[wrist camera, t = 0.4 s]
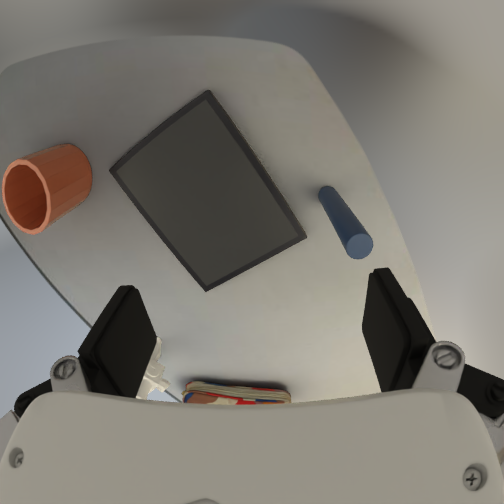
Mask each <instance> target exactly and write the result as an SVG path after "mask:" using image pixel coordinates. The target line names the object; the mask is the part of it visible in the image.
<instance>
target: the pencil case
mask: <svg viewBox="0 0 504 504" xmlns="http://www.w3.org/2000/svg"><path fill="white" fill-rule="evenodd" d="M182 395H183V403H193V404H218V405H257V404H283V403H291V395H290V393H289V392H287V391H284V390H278V389H267V388H251V387H239V386H228V385H221V384H214V383H208V382H200V381H195V382H190V383H188V384H186V390H185V391H183V392H182Z"/></svg>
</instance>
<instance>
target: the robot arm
mask: <svg viewBox="0 0 504 504" xmlns="http://www.w3.org/2000/svg"><path fill="white" fill-rule="evenodd" d="M362 332H363V335H364V338H365V341H366V344H367V347H368V350H369V353H370V356H371V359H372V362H373V366H374V369H375V372H376V375H377V378H378V382H379V385H380V388H381V392H382V393H376V394H369V395H362V396H355V397H347V398H339V399H331V400H321V401H311V402H299V403H283V404H257V405H218V404H193V403H177V402H164V401H153V400H145V399H137V398H136V396H137V393H138V390H139V388H140V385H141V382H142V380H143V377H144V374H145V372H146V369H147V366H148V364H149V361H150V359H151V356H152V353H153V351H154V348H155V346H156V343H157V336H156V333H155V331H154V329H153V326H152V324H151V321H150V319H149V316H148V314H147V311H146V309H145V306H144V303H143V301H142V298H141V295H140V293H139V290H138V289H135V287H134V286H132V285H126V286H120V287H119V288H118V289H117V291H116V292H115V294H114V295H113V297H112V298H111V299H110V301H109V302H108V304H107V305H106V307H105V308H104V310H103V311H102V313H101V315H100V316H99V318H98V319H97V321H96V322H95V324H94V325H93V327H92V329H91V330H90V332H89V333H88V335H87V337H86V338H85V340H84V341H83V343H82V345H81V346H80V348H79V350H78V353H79V357H78V358H76V357H75V356H65V357H62V358H60V359H59V360H58V361H56V362H55V363H54V365H53V366H52V368H51V371H50V377H51V379H49V380H47V381H45V382H43V383H41V384H39V385H38V386H36V387H33V388H32V389H30V390H28V391H26V392H24V393H22V394H21V395H20V396H19V397H18V399H17V400H16V402H15V405H14V410H15V411H14V412H13V411H12V410H10V411H9V412H8V413H7V414H6V415H5V416H4V417H3V418H1V419H0V504H504V380H503V379H501V378H498V377H496V376H493V375H491V374H489V373H486V372H484V371H481V370H479V369H477V368H475V367H472V366H470V365H467V364H465V355H464V352H463V351H462V349H461V348H460V347H459V346H458V345H456V344H454V343H452V342H448V341H439V342H436V341H435V339H434V337H433V336H432V334H431V332H430V330H429V328H428V327H427V325H426V323H425V321H424V320H423V318H422V316H421V314H420V313H419V311H418V309H417V308H416V306H415V304H414V303H413V301H412V300H411V298H407V296H406V295H405V293H404V291H403V290H402V288H401V286H400V285H399V283H398V282H397V280H396V278H395V277H394V275H393V274H392V272H391V270H390V269H389V268H378V269H374V271H373V273H370V274H369V280H368V288H367V295H366V303H365V309H364V316H363V322H362Z"/></svg>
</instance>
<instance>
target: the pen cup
mask: <svg viewBox="0 0 504 504" xmlns="http://www.w3.org/2000/svg"><path fill="white" fill-rule="evenodd" d="M91 185H92V171H91V167H90V164H89V161H88V159H87V157H86V156H85V154H84V153H83V152H82V151H81V150H80V149H79V148H77V147H76V146H74V145H71V144H62V145H61V144H60V145H57V146H54V147H51V148H48V149H45V150H42V151H39V152H36V153H33V154H30V155H28V156H25V157H22V158H20V159H17V160H16V161H14V162H12V163H11V164H10V165H9V166H8V168H7V170H6V172H5V173H4V177H3V182H2V196H3V202H4V205H5V208H6V211H7V214H8V216H9V217H10V219H11V220H12V222H13V223H14V225H15V226H17V227H18V228H19V229H20V230H22V231H23V232H25V233H29V234H32V235H34V234H37V233H40V232H42V231H43V230H45V229H46V228H47V227H49V226H50V225H52V224H53V223H54V222H56V221H57V220H59V219H60V218H61V217H63V216H64V215H66V214H67V213H68V212H70V211H71V210H73V209H74V208H76V207H77V206H79V205H80V204H81V203H82V202H83V201H84V200H85V199H86V198H87V196H88V194H89V192H90V189H91Z"/></svg>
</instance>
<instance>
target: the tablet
mask: <svg viewBox="0 0 504 504" xmlns="http://www.w3.org/2000/svg"><path fill="white" fill-rule="evenodd" d="M109 171H110V173H111V174H112V175H113V177H114V178H115V179H116V181H117V182H118V184H119V185H120V186H121V188H122V189H123V190H124V192H125V193H126V194H127V196H128V197H129V198H130V200H131V201H132V202H133V203H134V205H135V206H136V207H137V209H138V210H139V211H140V213H141V214H142V215H143V216H144V218H145V219H146V220H147V222H148V223H149V224H150V225H151V227H152V228H153V229H154V230H155V232H156V233H157V234H158V235H159V237H160V238H161V239H162V240H163V242H164V243H165V244H166V245H167V247H168V248H169V249H170V250H171V251H172V253H173V254H174V255H175V256H176V258H177V259H178V260H179V261H180V262H181V264H182V265H183V266H184V267H185V268H186V270H187V271H188V272H189V273H190V274H191V276H192V277H193V278H194V279H195V280H196V281H197V283H198V284H199V285H200V286H201V287H202V288H203V290H204V291H205V292H207V291H209V290H211V289H213V288H214V287H216V286H218V285H220V284H222V283H224V282H226V281H228V280H230V279H231V278H233V277H235V276H237V275H239V274H241V273H243V272H244V271H246V270H248V269H250V268H252V267H254V266H256V265H257V264H259V263H261V262H263V261H265V260H267V259H269V258H270V257H272V256H274V255H276V254H278V253H280V252H282V251H283V250H285V249H287V248H289V247H291V246H293V245H294V244H296V243H298V242H300V241H302V240H304V239H305V238H307V235H306V233H305V231H304V230H303V228H302V226H301V225H300V223H299V222H298V220H297V218H296V217H295V215H294V214H293V212H292V210H291V209H290V207H289V206H288V204H287V202H286V201H285V199H284V198H283V196H282V195H281V193H280V191H279V190H278V188H277V187H276V185H275V184H274V182H273V181H272V179H271V178H270V176H269V174H268V173H267V171H266V170H265V168H264V167H263V165H262V164H261V162H260V161H259V159H258V158H257V156H256V155H255V153H254V152H253V150H252V149H251V147H250V146H249V145H248V143H247V142H246V140H245V139H244V137H243V136H242V134H241V133H240V131H239V130H238V129H237V127H236V126H235V124H234V123H233V121H232V120H231V119H230V117H229V116H228V114H227V113H226V112H225V110H224V109H223V107H222V106H221V105H220V103H219V102H218V100H217V99H216V98H215V96H214V95H213V94H212V92H211V91H210V90H207V91H205V92H204V93H203V94H201V95H200V96H198V97H197V98H195V99H194V100H193V101H191V102H190V103H188V104H187V105H186V106H184V107H183V108H182V109H180V110H179V111H178V112H176V113H175V114H174V115H173V116H171V117H170V118H169V119H167V120H166V121H165V122H164V123H162V124H161V125H160V126H159V127H157V128H156V129H155V130H154V131H152V132H151V133H150V134H149V135H148V136H146V137H145V138H144V139H143V140H142V141H141V142H139V143H138V144H137V145H136V146H135V147H134V148H133V149H131V150H130V151H129V152H128V153H127V154H126V155H125V156H124V157H123V158H121V159H120V160H119V161H118V162H117V163H116V164H115V165H114V166H113V167H112V168H111V169H110V170H109Z"/></svg>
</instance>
